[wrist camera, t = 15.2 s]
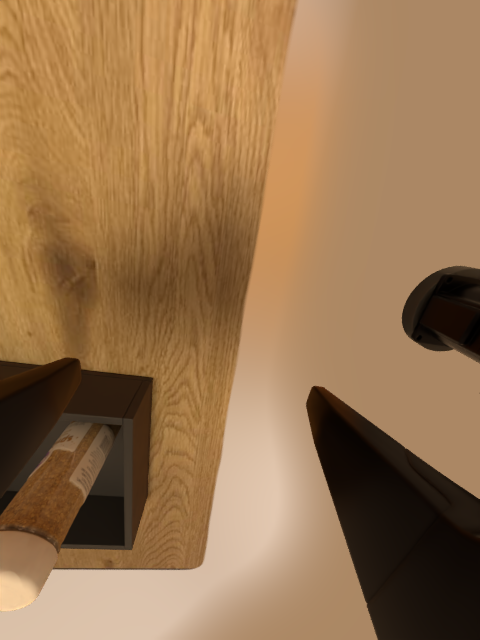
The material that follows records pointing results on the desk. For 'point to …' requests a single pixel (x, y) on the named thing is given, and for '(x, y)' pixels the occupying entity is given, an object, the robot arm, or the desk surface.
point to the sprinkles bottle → (48, 510)
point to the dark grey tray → (120, 465)
